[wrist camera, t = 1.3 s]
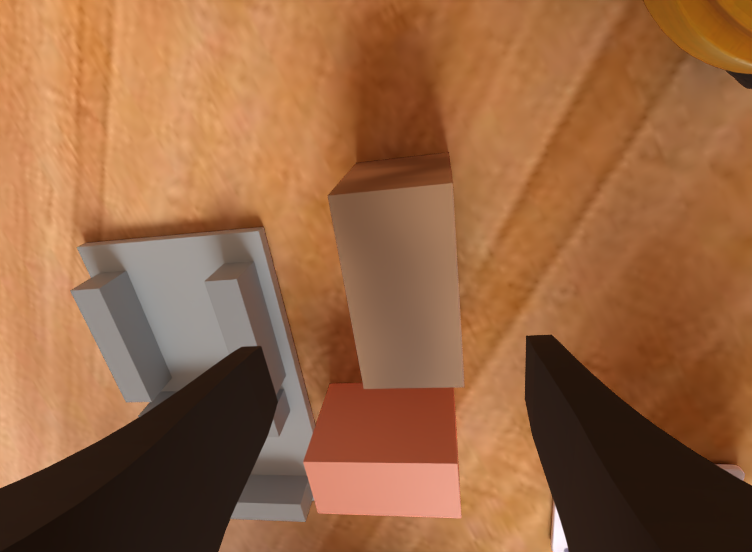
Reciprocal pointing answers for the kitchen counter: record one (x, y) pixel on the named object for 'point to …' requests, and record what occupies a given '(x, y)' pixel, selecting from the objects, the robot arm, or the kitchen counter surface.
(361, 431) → the pink block
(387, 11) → the kitchen counter surface
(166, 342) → the jig
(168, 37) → the kitchen counter surface
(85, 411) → the kitchen counter surface
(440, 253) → the small taupe brick
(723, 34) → the toy road roller
